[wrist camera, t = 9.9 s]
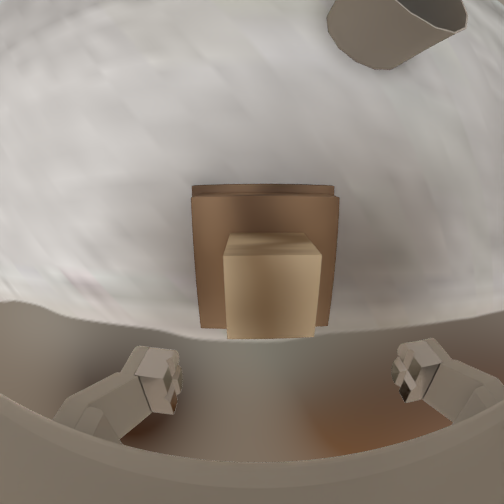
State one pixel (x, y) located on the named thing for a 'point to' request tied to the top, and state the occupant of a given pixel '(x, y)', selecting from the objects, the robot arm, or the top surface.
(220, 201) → the walnut pedestal
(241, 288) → the maple cube
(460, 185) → the top surface
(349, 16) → the cup
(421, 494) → the robot arm
